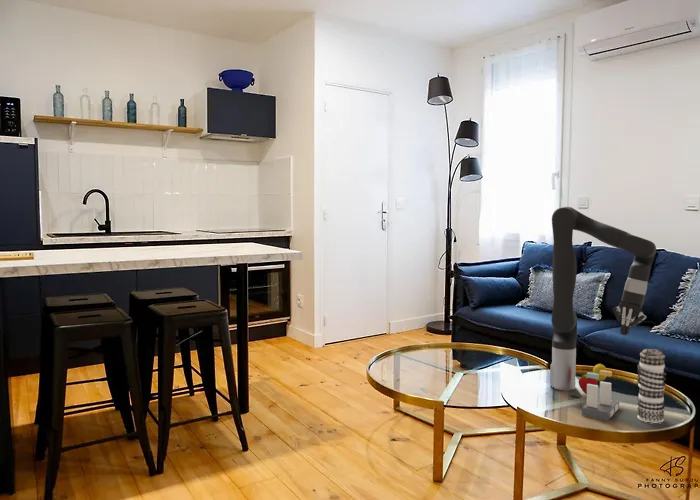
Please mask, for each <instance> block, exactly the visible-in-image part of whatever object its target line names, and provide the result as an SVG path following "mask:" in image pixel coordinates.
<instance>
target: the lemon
mask: <svg viewBox="0 0 700 500" xmlns="http://www.w3.org/2000/svg"><path fill="white" fill-rule="evenodd" d="M600 370H605V371H608V370H607V367H606V366H605V365H604V364H602V363H597V364H596V365H594V367H593V369H592V373H597V374H599V378H598V379H597V382H599V383H600V382H601V381H602V382H603V381H605V380H606V378H607V376H603V375H600Z"/></svg>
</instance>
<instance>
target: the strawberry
mask: <svg viewBox="0 0 700 500" xmlns="http://www.w3.org/2000/svg"><path fill="white" fill-rule="evenodd" d="M598 382H599V381H598V380H597V379H594V378H588V377H587V373H586V374H585V373H583V375H581V376H580V378H579V379H578V386H579V387H580V389H581V390H582V392H583V393H584V395H586V396H587V384H593V385H598V384H599V383H598Z"/></svg>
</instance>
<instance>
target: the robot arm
mask: <svg viewBox="0 0 700 500" xmlns="http://www.w3.org/2000/svg"><path fill="white" fill-rule="evenodd" d="M551 227H552V236H553V247H552V291H553V303H552V304H553V305H552V312H551V325H552V327H553V335H552V340H551V346H552V347H551V360H552V361H551V363H550V366H549V367H550V368H549V369H550V370H549V371H550V372H549V374H550V375H549V386H552V387H551V388H553V387H554V388H553V389H555V390H558V391H573V390H575V389H576V376H577V375H576V373H577V372H576V365H577V364H576V363H577V362H576V361H577V360H576V359H577V339H578V316H577V314H576V312H575V311H574V306H573V305H574V304H573V301H574V293H575V288H576V284H577V283H576V282H577V271H578V270H577V269H578V266H577V264H578V263H577V258H576V253H575V249H574V245H573V233H574V231H577V232H582V233H585V234H587V235H589V236H591V237H593V238H595V239H596V240H598V241H600V242H602V243H603V244H606V245H609V246H611V247H613V248H616V249H619V250H622V251H625V252H627V253H630V254H631V255H634V257H633V261H632V264H631V265H630V267H629V270H628V275H627V279H626V281H625V284H624V288H623V292H622V296H621V301H620V302H619V304H618V305H617V306H614V307H612V308H611V309H612V311H613V314H614V316H615V318H616V321H617V322H618V323H620V324H621V326H620V330H619V332H620V335H622V336H627V335H629V334H630V331H631V328H632V327H637V326H638V325H640V324H641V323H643V321H645V320H646V319H648V316H647V315H645V314H644V312H643V306H644V301H645V298H646V293H647V289H648V282H649V277H650V274H651V269H652V265H653V262H654V261H655V257H656V252H657V247H656V244H655V243H654V242H653V241H652V240H649V239H646V238H643V237H639V236H636V235H633V234H631V233H629V232H628V231H625V230H622V229H619V228H617V227H615V226H612V225H609V224H605V223H603V222H600V221H598V220H596V219H593V218H591V217H589V216H587V215H585V214H583V213H582V212H580V211H578V210H576V209H575V208H573V207H572V206H562V207H559V208H556V209H555V210H554V212H553V213H552V216H551ZM636 317H637V318H636Z"/></svg>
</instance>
